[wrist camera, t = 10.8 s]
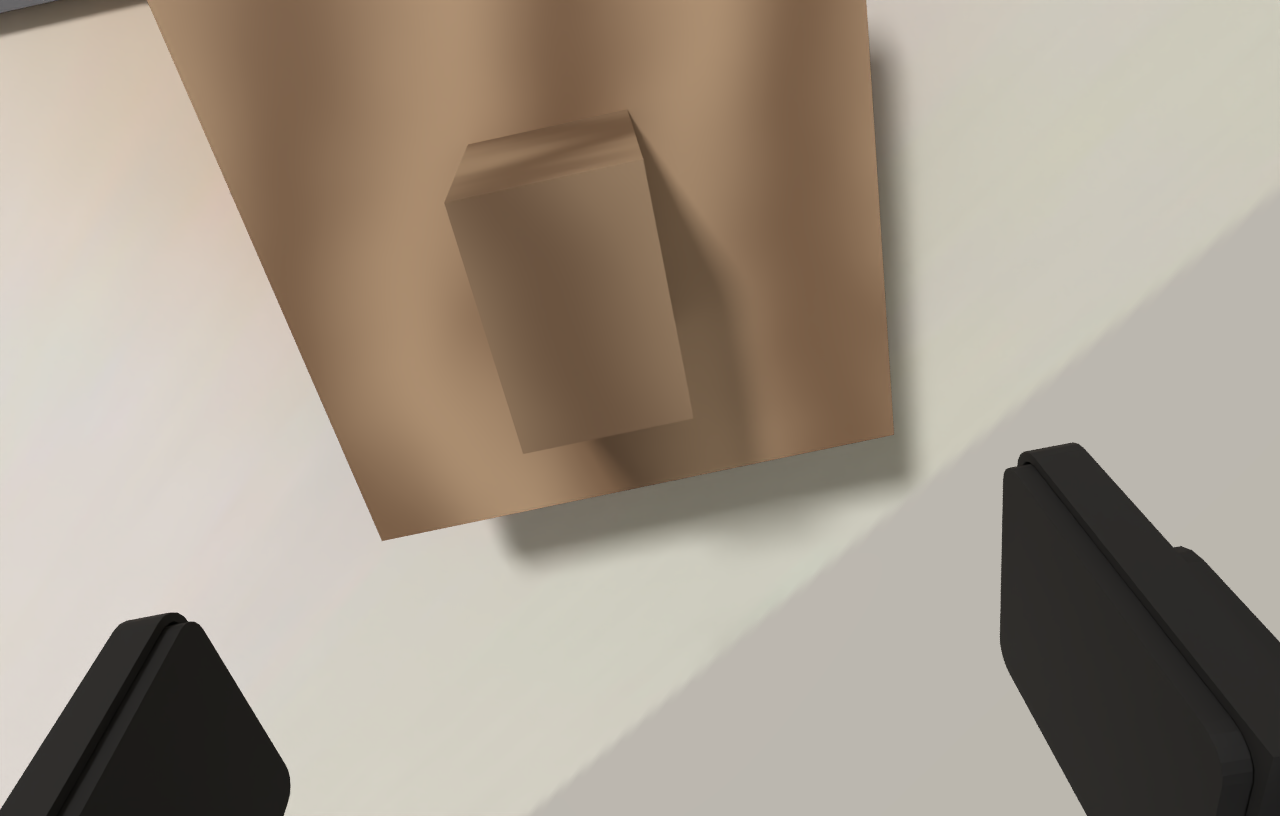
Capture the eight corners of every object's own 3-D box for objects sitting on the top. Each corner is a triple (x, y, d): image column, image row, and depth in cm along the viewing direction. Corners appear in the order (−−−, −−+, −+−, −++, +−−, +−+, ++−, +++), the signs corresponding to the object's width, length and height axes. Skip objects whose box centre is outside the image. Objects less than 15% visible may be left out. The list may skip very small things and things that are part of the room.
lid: (843, -185, 20) (940, -217, 15) (885, 421, 28) (957, 535, 23) (151, -26, 20) (14, -4, 15) (386, 525, 28) (347, 659, 23)
